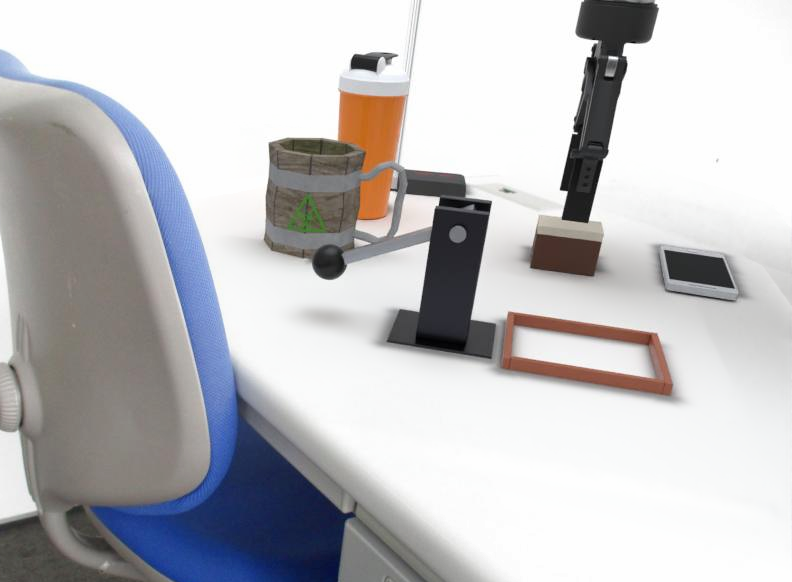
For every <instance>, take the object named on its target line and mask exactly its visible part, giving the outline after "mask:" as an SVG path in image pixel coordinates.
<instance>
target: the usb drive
mask: <svg viewBox="0 0 792 582" xmlns="http://www.w3.org/2000/svg"><path fill="white" fill-rule="evenodd" d="M405 173H406V178H407V183H408V185H407V189H406V193H405V194H410V195H418V196H419V195H420V196H432V197H440V196H441V195H448V196H457V197H465V198H466V193H467V183H466V176H464V175H463V174H461V173H452V172H442V171H440V172H439V171H429V170H420V169H419V170H417V169H408V168H405ZM399 186H400V182H399V172H397V171H394V172H393V178H392V184H391V190H395V191H396V192H397V193H398V189H399Z"/></svg>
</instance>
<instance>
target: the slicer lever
mask: <svg viewBox="0 0 792 582" xmlns="http://www.w3.org/2000/svg"><path fill="white" fill-rule="evenodd" d="M460 209H468V210H476V208H475V205H474V204H473V205H469V206H466V207H463V208H460ZM431 230H432V225H431V226H426V227H424V228H421V229H417V230H413V231H410V232H406V233H403V234H400V235H397V236H396V235H395V236H394V237H392V238H389V239H385V240H382V241H378V242H375V243H368V244H365V245H361V246H357V247H354V249H350V250H347V251H343V250H342V249H341V248H340V247H338V246H336V245H332V244H328V245H324V246H321V247H320V248H319V249H317V250H316V252H315V253H314V255H313V258H311V266H312V270H313V272H314V273H315V275H316V276H317V277H319V278H320V279H322V280H325V281H333V280H337V279H338V278H340V277H342V276H343V275H344V273H345V272H346V270H347V267H348V265H350V264H353V263H356V262H360V261H363V260H367V259H371V258H374V257H378V256H381V255H386V254H388V253H393V252H396V251H399V250H403V249H408V248H410V247H415V246H418V245H421V244H424V243H430V237H431Z"/></svg>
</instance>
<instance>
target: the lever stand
mask: <svg viewBox="0 0 792 582" xmlns="http://www.w3.org/2000/svg"><path fill="white" fill-rule="evenodd" d="M438 199H439V200H438V205H435V207H434V211H433V217H432V225H431V226H432V230H431V237H430V241H429V243H428V252H427V256H426V257H427V258H426V264H425V271H424V278H423V285H422V290H421V298H420V304H419V311H415V310H410V309H404V308H403V309H402V308H399V310H398V313H397V315H396V317H395V319H394V322H393V325H392V328H391V330H390V332H389V334H388V336H387V339H386V343H390V344H395V345H402V346H407V347H413V348H419V349H420V348H421V349H427V350H433V351H439V352H445V353H451V354H458V355H463V356H464V355H465V356H469V357H476V358H483V359H490V360H492V358H493V350H494V342H495V334H496V326H497V323H495V322H488V321H483V320H475V319H472V316H473V310H474V306H475V305H474V304H475V299H476V294H477V288H478V284H479V283H478V282H479V276H480V272H481V266H482V260H483V255H484V250H485V243H486V238H487V234H488V233H487V232H488V227H489V221H490V216H491V210H492V205H493V201H492V200H489V199H480V198H474V197H473V198H472V197H466V196H465V197H457V196H448V195H441V196H439V198H438ZM473 204H474V205H475V208H476V210H468V209H460V208H463V207H466V206H469V205H473Z"/></svg>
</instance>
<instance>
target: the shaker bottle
mask: <svg viewBox="0 0 792 582" xmlns="http://www.w3.org/2000/svg"><path fill="white" fill-rule="evenodd" d="M398 57H399V54H398V53H393V52H386V51H372V52H368V53H365V54H363V53H353V54H352V55H351V56H350V59H349V65H348V66H346V67H345V68H344V69H343V70H342V71H341V73H340V74H339V79H338V80H339V81H338V87H337V90H338V92H339V100H338V101H339V103H338V104H339V105H338V125H337V141H343V142H349V143H354V144H356V145H357V146H359V147H361V148H362V149H364V150H365V151H366V155H365V159H364V164H363V168H362V173H368V172H369V171H371V170H372V169H373V168H374V167H376V166H377V165H378V164H380V163H384V162H388V161H393V162H395V163H396V160H397V154H398V149H399V142H400V136H401V132H402V131H401V130H402V123H403V119H404V112H405V107H406V101H407V97H408V96H409V91H410V83H411V79H410V77H409V75H408V73H407V72H406V71H405V70H404V69H403V68H401V67H399V66H397V65H395V64H392V63H393V62H392V61H393V59H394V58H398ZM393 172H395V170H393V169H392V168H389V169H386V170H384V171H382V172H381V173H380V174H379V175H377V176H376V177H375V178H374V179H372V180H370V181H361V184H360V208H359V213H358V218H357V220H377V219H381V218H384V217H385V216H386V215H387V212H388V207H389V201H390V195H391V190H392V189H391V184H392V178H393Z"/></svg>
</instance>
